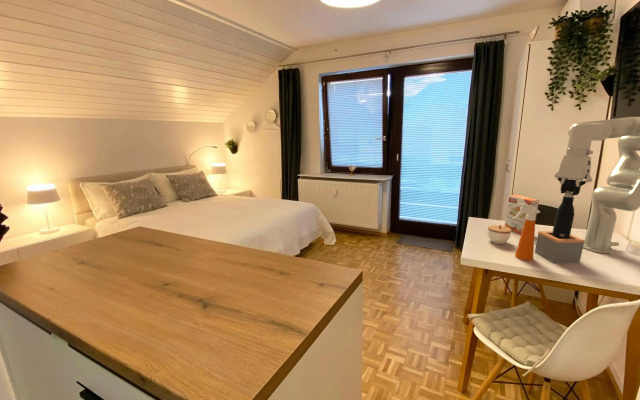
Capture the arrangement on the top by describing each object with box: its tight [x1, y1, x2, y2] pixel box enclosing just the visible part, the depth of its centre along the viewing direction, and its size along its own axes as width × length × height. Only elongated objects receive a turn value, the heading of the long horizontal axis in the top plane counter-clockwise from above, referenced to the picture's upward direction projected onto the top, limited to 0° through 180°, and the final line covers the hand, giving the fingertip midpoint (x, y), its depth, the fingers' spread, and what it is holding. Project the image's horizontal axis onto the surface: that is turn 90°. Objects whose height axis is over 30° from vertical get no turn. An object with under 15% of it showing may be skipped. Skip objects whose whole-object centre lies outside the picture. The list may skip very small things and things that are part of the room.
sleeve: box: [534, 230, 585, 264], centre depth 139 cm, size 12×12×11 cm
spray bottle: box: [513, 203, 541, 261], centre depth 138 cm, size 7×11×26 cm, turn 77°
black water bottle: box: [552, 179, 576, 239], centre depth 135 cm, size 6×6×30 cm
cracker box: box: [504, 194, 540, 235], centre depth 172 cm, size 14×6×21 cm, turn 17°
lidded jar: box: [487, 224, 512, 245], centre depth 159 cm, size 11×11×9 cm
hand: (569, 193), depth 133 cm, fingers closed on black water bottle, 3 cm apart
